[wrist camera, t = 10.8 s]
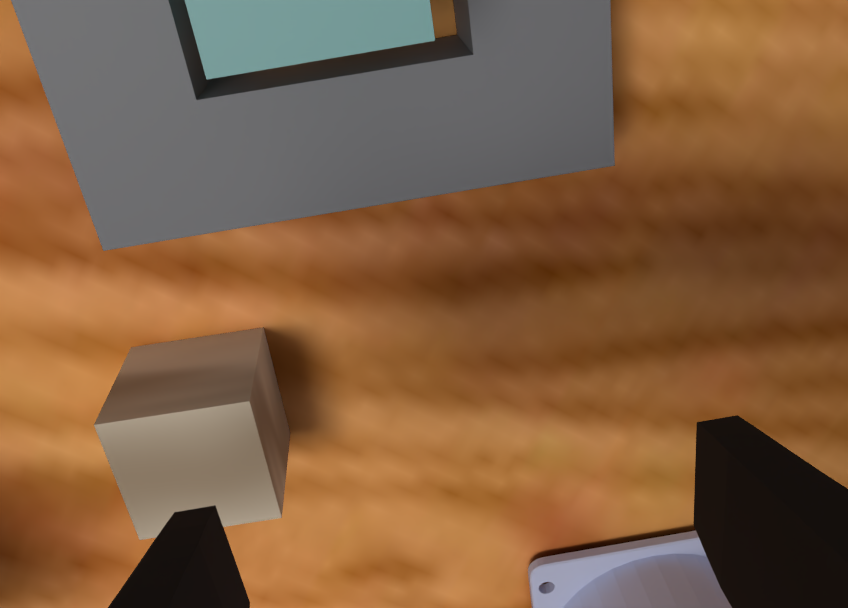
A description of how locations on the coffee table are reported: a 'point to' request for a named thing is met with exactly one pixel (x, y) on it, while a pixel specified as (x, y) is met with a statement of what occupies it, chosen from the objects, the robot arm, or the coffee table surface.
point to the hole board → (315, 114)
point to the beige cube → (197, 430)
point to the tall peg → (300, 30)
